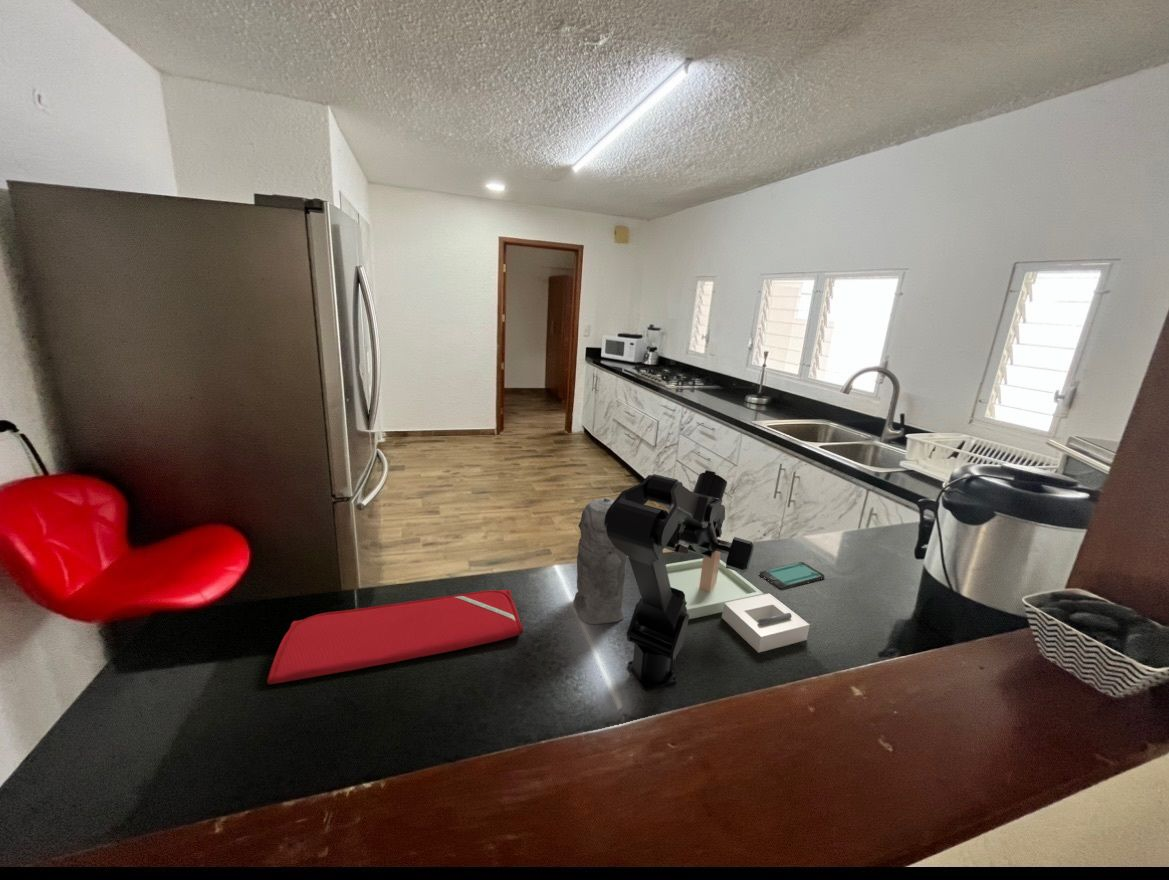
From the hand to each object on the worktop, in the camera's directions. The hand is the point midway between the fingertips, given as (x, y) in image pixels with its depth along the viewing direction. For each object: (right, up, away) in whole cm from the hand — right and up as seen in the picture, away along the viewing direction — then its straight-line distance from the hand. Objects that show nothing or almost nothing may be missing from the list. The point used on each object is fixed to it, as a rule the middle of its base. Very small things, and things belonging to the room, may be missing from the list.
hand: (709, 558), depth 103 cm
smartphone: (+24, -8, +12) cm, 27 cm away
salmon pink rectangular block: (+1, -7, +4) cm, 8 cm away
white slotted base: (+8, -12, -9) cm, 17 cm away
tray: (-1, -8, +4) cm, 9 cm away
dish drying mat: (-61, -11, -16) cm, 64 cm away
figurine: (-25, -9, -5) cm, 27 cm away
